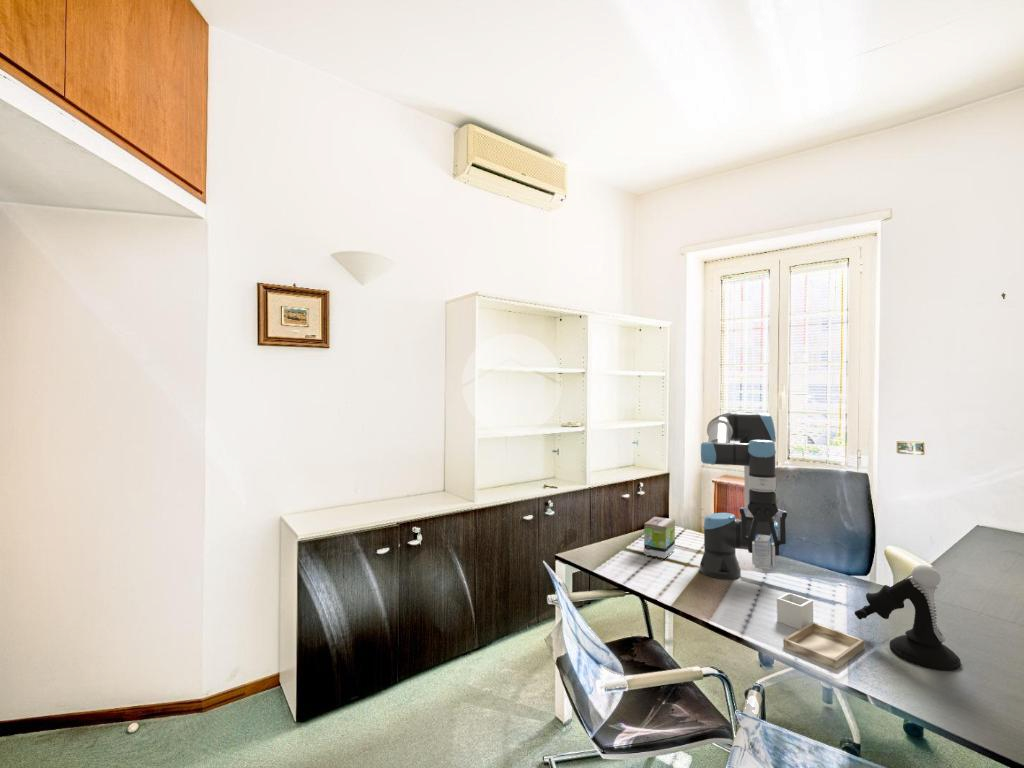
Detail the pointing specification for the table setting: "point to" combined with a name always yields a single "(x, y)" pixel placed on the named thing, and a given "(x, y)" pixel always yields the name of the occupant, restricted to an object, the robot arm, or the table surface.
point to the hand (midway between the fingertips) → (763, 564)
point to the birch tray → (824, 644)
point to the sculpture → (915, 620)
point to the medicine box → (763, 552)
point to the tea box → (659, 537)
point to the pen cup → (794, 610)
